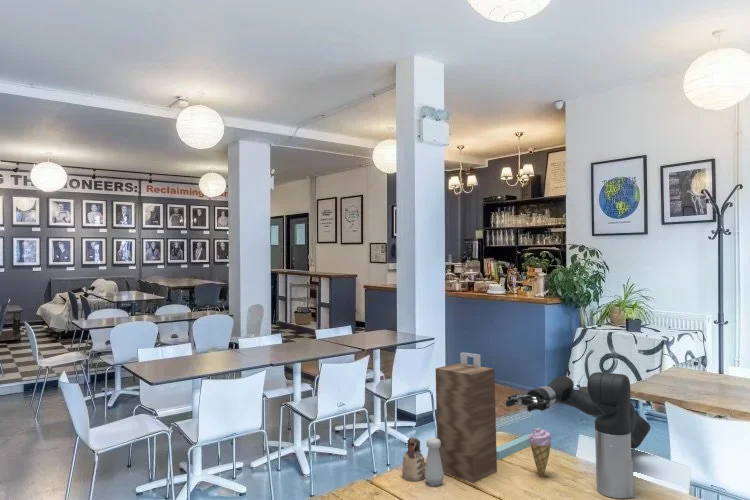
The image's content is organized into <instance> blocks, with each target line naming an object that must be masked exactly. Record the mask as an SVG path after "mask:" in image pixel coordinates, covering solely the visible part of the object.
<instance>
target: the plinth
mask: <svg viewBox="0 0 750 500" xmlns="http://www.w3.org/2000/svg"><path fill="white" fill-rule="evenodd" d="M467 365H468V366H466V367H463V366H461V362H459V363H455V364H454V363H453V364H449V365H445V366H444V365H443V366H440V367H435V394H436V395H435V401H436V402H435V403H436V404H435V405H436V407H435V408H436V412H435V413H436V438H437V439H439V440H440V441H441V447H440V448H439V452H440V457H441V462H442V467H443V472H444V474H445V473H446V474H448V475H450V476H451V475H452V477H453V476H454V477H457V478H460V479H462V480H464V481H467V482H470V483H472V484H474V483H477V482H478V481H480V480H483V479H484V478H487V477H489V476H491V475H492V474H496V473H497V471H498V463H497V462H498V460H497V453H496V447H497V425H496V424H497V423H496V422H497V421H496V413H497V412H496V380H495V379H496V378H495V377H496V376H495V368H493V367H492V368H491V367H485V366H481V368H480V369H475V368H474V364H468V363H467Z"/></svg>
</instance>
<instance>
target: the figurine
mask: <svg viewBox="0 0 750 500" xmlns="http://www.w3.org/2000/svg"><path fill="white" fill-rule="evenodd" d="M406 443H407V451H406V452H404V455H403V457H402V459H403V460H402V470H401V471H402V472H401V473H402V478H403V479H405V480H406V481H408V482H409V481H410V482H419V481H420V482H421V481H423V480H426V479H425V469H426V464H425V458H424V455H423V454H422V450H421V440H420V439H418V438H417V437H413V436H411V437H410V438H408V440H406Z"/></svg>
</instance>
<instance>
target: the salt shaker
mask: <svg viewBox="0 0 750 500" xmlns="http://www.w3.org/2000/svg"><path fill="white" fill-rule="evenodd" d="M426 447H427V449H428V450H427V456H426V462H425V463H426V464H425V479H424V480H425V481H426V483H427V485H429V486H431V487H438V486H441V485H442V483H443V481H444V478H445V472H443V467H442V462H441V457H440V452H439V448H440V447H441V441H440V440H439V439H437V437H431V438H427V440H426Z"/></svg>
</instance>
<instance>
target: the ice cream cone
mask: <svg viewBox="0 0 750 500" xmlns="http://www.w3.org/2000/svg"><path fill="white" fill-rule="evenodd" d="M528 434H529V433H528ZM527 437H530V439H529V441H530V444H531V446H530V449H531V453H532V455H533V457H532V458H533V461H534V463H535V467H536V470H537V474H538V476H539V477H540V478H544V477H545V474H546V469H547V465H548V461H549V457H550V452H551V445H552V441H551V439H552V436H551V432H548V431H547V430H546V429H541V427H538V428H533V432H531V434H529V435H528V436H527Z"/></svg>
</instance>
